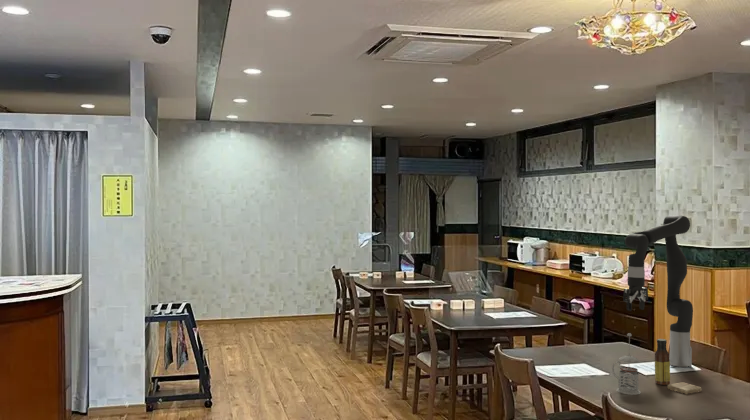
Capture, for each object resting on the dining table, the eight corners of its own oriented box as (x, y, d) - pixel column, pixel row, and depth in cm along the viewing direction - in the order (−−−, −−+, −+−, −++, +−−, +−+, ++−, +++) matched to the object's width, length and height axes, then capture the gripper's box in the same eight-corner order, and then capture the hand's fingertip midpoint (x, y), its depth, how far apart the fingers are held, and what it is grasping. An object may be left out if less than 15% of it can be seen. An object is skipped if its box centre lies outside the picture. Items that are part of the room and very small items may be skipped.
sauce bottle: (669, 382, 290) (670, 338, 290) (670, 386, 284) (671, 341, 284) (653, 381, 292) (654, 337, 292) (654, 384, 286) (655, 340, 286)
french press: (638, 396, 269) (639, 336, 269) (609, 391, 275) (610, 333, 275) (642, 390, 278) (643, 332, 277) (614, 386, 284) (615, 329, 283)
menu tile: (667, 384, 280) (686, 390, 272) (682, 382, 285) (701, 387, 277) (667, 389, 280) (686, 395, 272) (682, 386, 285) (701, 392, 277)
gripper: (632, 277, 299) (631, 312, 299) (653, 276, 306) (652, 310, 306) (619, 275, 306) (618, 309, 306) (639, 274, 312) (639, 307, 313)
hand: (635, 310), depth 306 cm, fingers open, 8 cm apart
